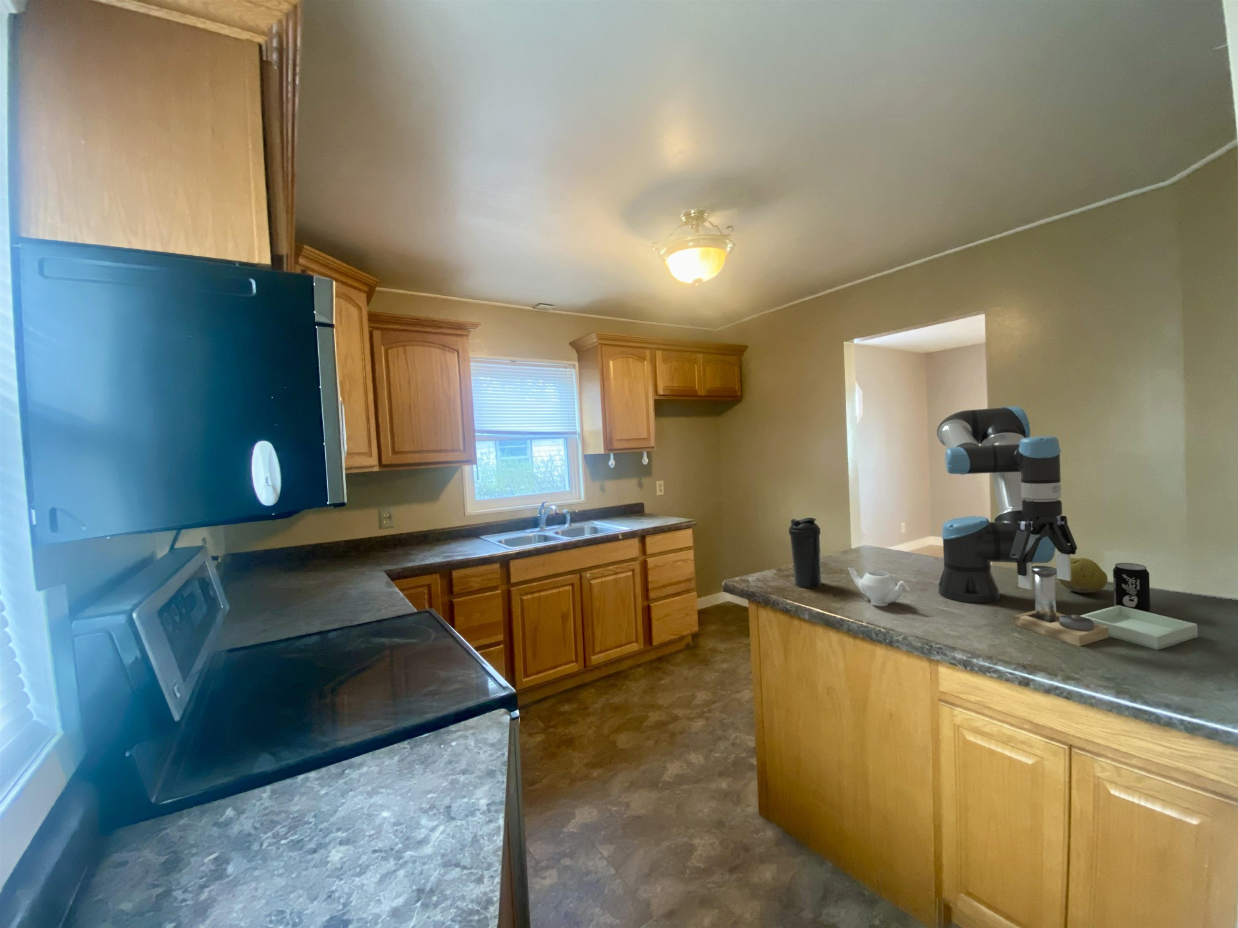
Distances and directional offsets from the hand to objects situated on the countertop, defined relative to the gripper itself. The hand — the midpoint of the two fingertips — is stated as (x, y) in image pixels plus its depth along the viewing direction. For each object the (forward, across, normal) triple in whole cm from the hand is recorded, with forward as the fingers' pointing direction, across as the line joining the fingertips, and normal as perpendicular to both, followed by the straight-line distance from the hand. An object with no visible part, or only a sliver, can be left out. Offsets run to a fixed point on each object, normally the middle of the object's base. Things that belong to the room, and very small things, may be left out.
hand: (1044, 583), depth 124 cm
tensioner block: (+11, 0, -3) cm, 12 cm away
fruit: (+11, +32, +11) cm, 36 cm away
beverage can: (+11, +27, -3) cm, 30 cm away
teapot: (+11, -20, +32) cm, 40 cm away
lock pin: (+11, 0, 0) cm, 11 cm away
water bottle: (+11, -26, +58) cm, 65 cm away
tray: (+11, +13, -11) cm, 20 cm away
